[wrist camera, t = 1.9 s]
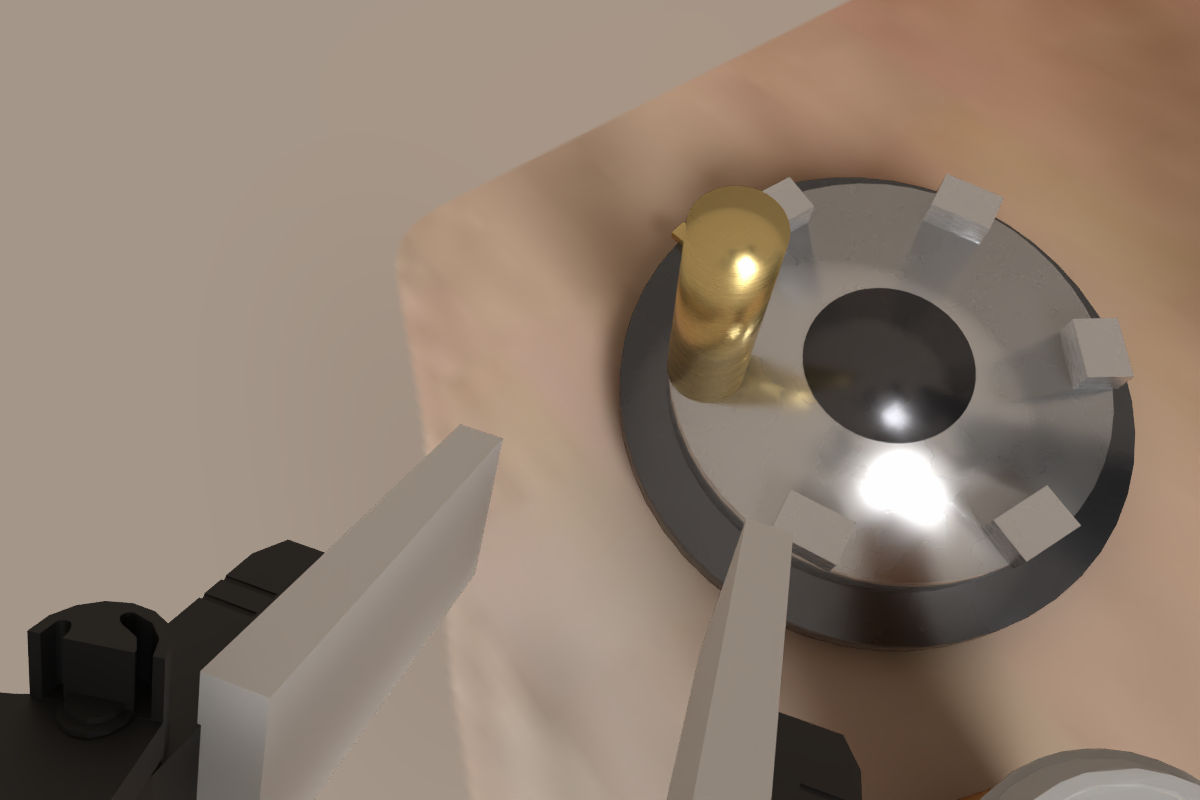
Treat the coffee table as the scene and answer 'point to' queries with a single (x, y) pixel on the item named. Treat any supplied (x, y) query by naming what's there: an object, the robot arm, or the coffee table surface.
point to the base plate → (814, 600)
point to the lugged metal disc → (887, 380)
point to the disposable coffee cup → (1094, 779)
